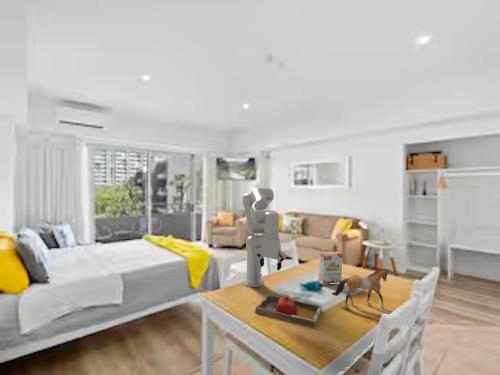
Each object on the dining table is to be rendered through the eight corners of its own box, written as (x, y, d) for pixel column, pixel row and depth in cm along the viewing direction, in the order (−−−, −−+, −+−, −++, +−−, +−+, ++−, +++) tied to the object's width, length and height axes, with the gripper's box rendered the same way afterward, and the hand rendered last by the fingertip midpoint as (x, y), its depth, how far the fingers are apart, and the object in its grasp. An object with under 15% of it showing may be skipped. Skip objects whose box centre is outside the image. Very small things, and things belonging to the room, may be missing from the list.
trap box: (267, 298, 155) (267, 294, 155) (321, 310, 142) (321, 305, 142) (255, 312, 138) (255, 307, 138) (314, 327, 126) (314, 321, 126)
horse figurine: (385, 303, 153) (386, 267, 152) (392, 310, 145) (394, 272, 145) (330, 302, 152) (332, 266, 152) (335, 309, 145) (336, 271, 144)
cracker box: (323, 286, 176) (324, 254, 176) (318, 282, 182) (319, 251, 182) (341, 284, 180) (342, 253, 180) (336, 281, 186) (337, 251, 185)
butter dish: (297, 318, 134) (297, 301, 134) (273, 316, 136) (274, 299, 136) (297, 308, 145) (297, 292, 145) (275, 305, 147) (276, 290, 147)
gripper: (253, 234, 143) (252, 266, 144) (284, 239, 135) (282, 273, 135) (260, 232, 150) (259, 263, 150) (289, 236, 141) (288, 269, 142)
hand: (270, 267), depth 143 cm, fingers open, 9 cm apart
